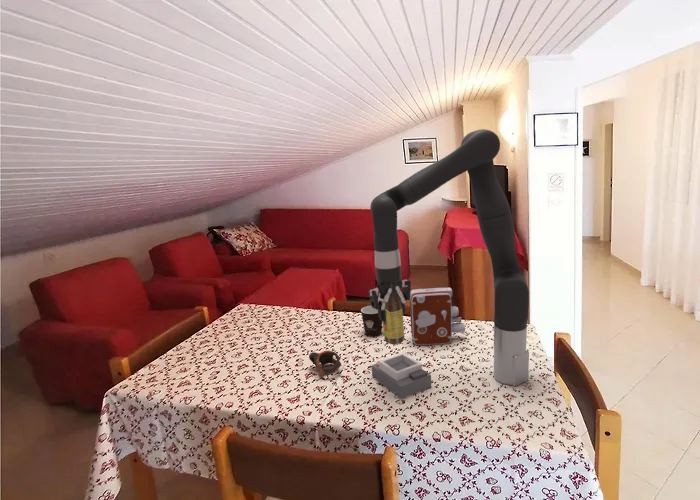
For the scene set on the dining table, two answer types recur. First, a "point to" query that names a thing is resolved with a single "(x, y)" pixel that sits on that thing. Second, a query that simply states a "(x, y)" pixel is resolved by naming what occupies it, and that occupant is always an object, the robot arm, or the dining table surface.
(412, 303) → the cine camera
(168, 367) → the dining table surface
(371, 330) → the coffee mug
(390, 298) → the sauce bottle
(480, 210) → the robot arm
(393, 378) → the retro computer monitor
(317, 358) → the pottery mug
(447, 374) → the dining table surface
